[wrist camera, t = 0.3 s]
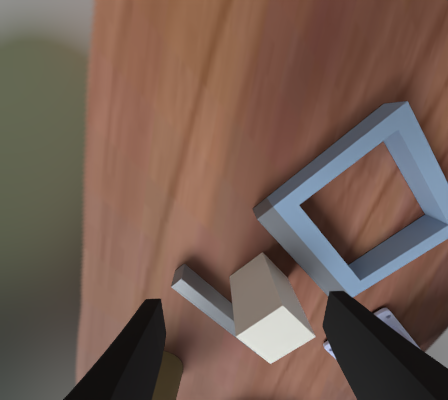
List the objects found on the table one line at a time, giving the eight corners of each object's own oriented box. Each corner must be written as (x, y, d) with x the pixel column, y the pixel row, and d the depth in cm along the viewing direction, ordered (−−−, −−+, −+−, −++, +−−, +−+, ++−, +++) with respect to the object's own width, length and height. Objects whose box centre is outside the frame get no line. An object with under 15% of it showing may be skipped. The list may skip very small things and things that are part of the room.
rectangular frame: (442, 215, 19) (468, 225, 17) (255, 336, 23) (259, 355, 21) (383, 103, 15) (407, 101, 13) (175, 270, 19) (171, 286, 18)
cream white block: (287, 277, 20) (315, 336, 15) (255, 299, 21) (270, 363, 16) (262, 251, 19) (282, 305, 14) (229, 276, 20) (235, 336, 14)
